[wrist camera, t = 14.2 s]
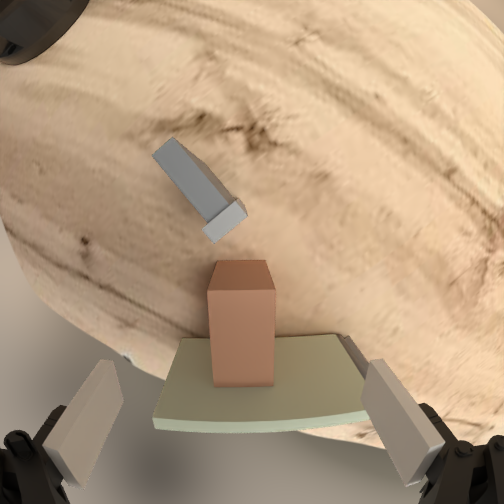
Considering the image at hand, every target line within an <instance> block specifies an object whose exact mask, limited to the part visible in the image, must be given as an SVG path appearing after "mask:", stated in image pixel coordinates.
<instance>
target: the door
mask: <svg viewBox="0 0 504 504" xmlns="http://www.w3.org/2000/svg"><path fill="white" fill-rule="evenodd" d="M366 375H367V372H366V370H365V369H364V367H363V366H362V364H361V363H360V362H359V360H358V359H357V357H356V356H355V354H354V353H353V351H352V350H351V348H350V347H349V345H348V344H347V342H346V341H345V339H344V338H343V336H342V335H337V336H336V335H335V334H329V335H315V336H298V337H277V338H275V348H274V383H273V386H267V387H214V381H213V369H212V358H211V345H210V338H182V340H181V342H180V345H179V347H178V350H177V352H176V355H175V358H174V360H173V363H172V365H171V368H170V371H169V373H168V376H167V379H166V381H165V384H164V387H163V389H162V392H161V395H160V397H159V400H158V403H157V405H156V408H155V411H154V414H153V416H152V419H153V423H154V426H155V429H163V430H174V431H188V432H208V433H260V432H280V431H293V430H304V429H313V428H322V427H329V426H336V425H343V424H349V423H355V422H361V421H366V420H370V418H369V416H368V414H367V412H366V410H365V408H364V406H363V405H362V403H361V401H360V398H361V395H362V391H363V387H364V383H365V379H366Z"/></svg>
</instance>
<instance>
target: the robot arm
mask: <svg viewBox="0 0 504 504" xmlns="http://www.w3.org/2000/svg"><path fill="white" fill-rule="evenodd" d="M88 1H89V0H0V61H1V62H3V63H6V64H9V65H16V64H20V63H23V62H26V61H28V60H30V59H32V58H34V57H35V56H37V55H39V54H40V53H42V52H43V51H44V50H46V49H47V48H48V47H49V46H51V45H52V44H53V43H54V42H55V41H56V40H57V39H59V38H60V37H61V36H62V35H63V34H64V33H65V32H66V31H67V30H68V28H69V27H70V26H71V25H72V24H73V23H74V22H75V20H76V19H77V18H78V17H79V15H80V14H81V12H82V11H83V10H84V8H85V6H86V5H87V3H88ZM360 401H361V403H362V405H363V406H364V408H365V410H366V412H367V414H368V416H369V418H370V420H371V421H372V423H373V425H374V427H375V429H376V431H377V433H378V435H379V437H380V439H381V441H382V442H383V444H384V446H385V448H386V450H387V452H388V454H389V456H390V458H391V460H392V462H393V464H394V466H395V468H396V470H397V472H398V474H399V476H400V477H401V479H402V481H403V483H404V485H405V487H407V486H410V485H413V484H415V483H418V482H420V481H421V480H422V478H423V477H424V475H425V474H426V476H427V478H428V481H427V482H426V483H425V485H424V486H423V488H422V489H421V491H420V493H422V491H423V493H422V496H421V498H420V501H419V504H504V436H502V435H496V436H493V437H492V438H491V439H490V440H489V442H488V443H487V444H485V445H479V446H473V445H472V444H471V443H469V442H467V441H462V440H459V441H458V440H457V439H456V437H455V436H454V435H453V433H452V432H451V431H450V429H449V428H448V427H447V426H446V424H445V423H444V422H442V419H441V418H440V417H439V416H438V414H437V413H436V412H435V410H434V409H433V408H432V407H430V406H429V405H427V404H426V403H422V404H417V403H416V401H415V400H414V399H413V397H412V396H411V395H410V393H409V392H408V391H407V389H406V388H405V387H404V386H403V384H402V383H401V382H400V380H399V379H398V378H397V376H396V375H395V374H394V373H393V371H392V370H391V369H390V367H389V366H388V365H387V364H386V362H385V361H384V360H383V359H377V360H370V363H369V367H368V371H367V375H366V379H365V383H364V387H363V391H362V395H361V398H360ZM123 402H124V399H123V396H122V392H121V388H120V384H119V381H118V377H117V373H116V368H115V364H114V361H112V360H105V359H101V360H100V361H99V362H98V364H97V365H96V367H95V368H94V370H93V371H92V372H91V374H90V375H89V376H88V378H87V379H86V380H85V382H84V383H83V385H82V386H81V388H80V389H79V391H78V392H77V393H76V395H75V396H74V398H73V399H72V401H71V402H70V404H69V405H68V406H63V405H60V406H59V407H57V408H56V409H54V410H53V411H52V412H51V414H50V415H49V417H48V419H47V420H46V421H45V422H44V425H42V427H41V428H40V430H39V431H38V432H37V434H36V436H35V437H34V438H33V440H31V438H30V436H29V434H27V433H26V432H25V431H22V430H15V431H12V432H10V433H9V434H7V435H6V437H5V438H4V445H5V446H6V448H7V450H6V449H1V448H0V504H70V502H69V500H68V498H67V496H66V493H65V491H64V488H63V487H62V485H61V482H62V480H63V478H64V480H65V481H66V482H67V484H68V485H69V486H72V487H75V488H78V489H81V490H84V488H85V486H86V483H87V481H88V479H89V477H90V474H91V472H92V469H93V467H94V465H95V463H96V460H97V458H98V456H99V453H100V451H101V449H102V447H103V444H104V442H105V440H106V438H107V436H108V434H109V432H110V429H111V427H112V425H113V423H114V421H115V419H116V416H117V414H118V412H119V410H120V408H121V406H122V404H123Z"/></svg>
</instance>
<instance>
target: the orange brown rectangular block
mask: <svg viewBox="0 0 504 504" xmlns="http://www.w3.org/2000/svg"><path fill="white" fill-rule="evenodd" d="M275 297H276V289H275V286H274V284H273V281H272V278H271V275H270V272H269V269H268V267H267V264H266V261H265V260H236V261H217V264H216V266H215V269H214V272H213V275H212V278H211V280H210V283H209V286H208V289H207V300H208V316H209V331H210V345H211V358H212V369H213V381H214V387H267V386H273V383H274V348H275Z"/></svg>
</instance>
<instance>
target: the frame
mask: <svg viewBox="0 0 504 504" xmlns="http://www.w3.org/2000/svg"><path fill="white" fill-rule="evenodd" d="M152 157H153V158H154V159H155V160H156V162H157V163H158V164H159V165H160V166H161V168H162V169H163V170H164V171H165V172H166V174H167V175H168V176H169V177H170V179H171V180H172V181H173V182H174V183H175V185H176V186H177V187H178V188H179V189H180V191H181V192H182V193H183V194H184V195H185V197H186V198H187V199H188V200H189V201H190V203H191V204H192V205H193V206H194V207H195V209H196V210H197V211H198V212H199V213H200V215H201V216H202V217H203V218H204V219H205V221H206V222H207V223H208V224H207V225H206V226H205V227H203V228H202V230H203V232H204V233H205V234H206V235H207V236H208V238H209V239H210V240H211V241H212V242H213V244H215V243H216V242H217V241H218V240H219V239H221V238H222V237H223V236H224V235H225V234H227V233H228V232H229V231H230V230H232V229H233V228H234V227H235V226H236V225H238V224H239V223H240V222H241V221H242V220H244V219H245V218H246V217H247V216H248V215H247V211H246V208H245V205H244V204H243V203H242V201H241V200H240V199H239V198H238V199H237V200H235V199H234V198H233V196H232V195H231V194H230V193H229V192H228V190H227V189H226V188H225V187H224V186H223V184H222V183H221V182H220V181H219V180H218V178H217V177H216V176H215V175H214V174H213V172H212V171H211V170H210V169H209V168H208V167H207V165H206V164H205V163H203V162H202V161H201V160H200V159H199V158H197V157H196V156H195V155H194V154H193V153H191V152H190V151H189V150H188V149H187V148H185V147H184V146H183V145H182V144H180V143H179V142H178V141H177V140H176V139H174V138H173V137H172V138H171V139H169V140H168V141H167V142H166V143H165V144H164V145H163V146H161V147H160V148H159V149H158V150H157V151H156V152H155V153H154V154H153V155H152ZM345 341H346V342H347V344H348V345H349V347H350V348H351V350H352V351H353V353H354V354H355V356H356V357H357V359H358V360H359V362H360V363H361V364H362V366H363V367H364V369H365V370H366V372H367V371H368V367H369V363H368V361H367V360H366V358H365V357H364V356H363V354H362V353H361V351H360V350H359V349H358V347H357V346H356V345H355V343H354V342H353V340H352V339H351V338H350V337H349V336H348V337H346V338H345Z"/></svg>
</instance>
